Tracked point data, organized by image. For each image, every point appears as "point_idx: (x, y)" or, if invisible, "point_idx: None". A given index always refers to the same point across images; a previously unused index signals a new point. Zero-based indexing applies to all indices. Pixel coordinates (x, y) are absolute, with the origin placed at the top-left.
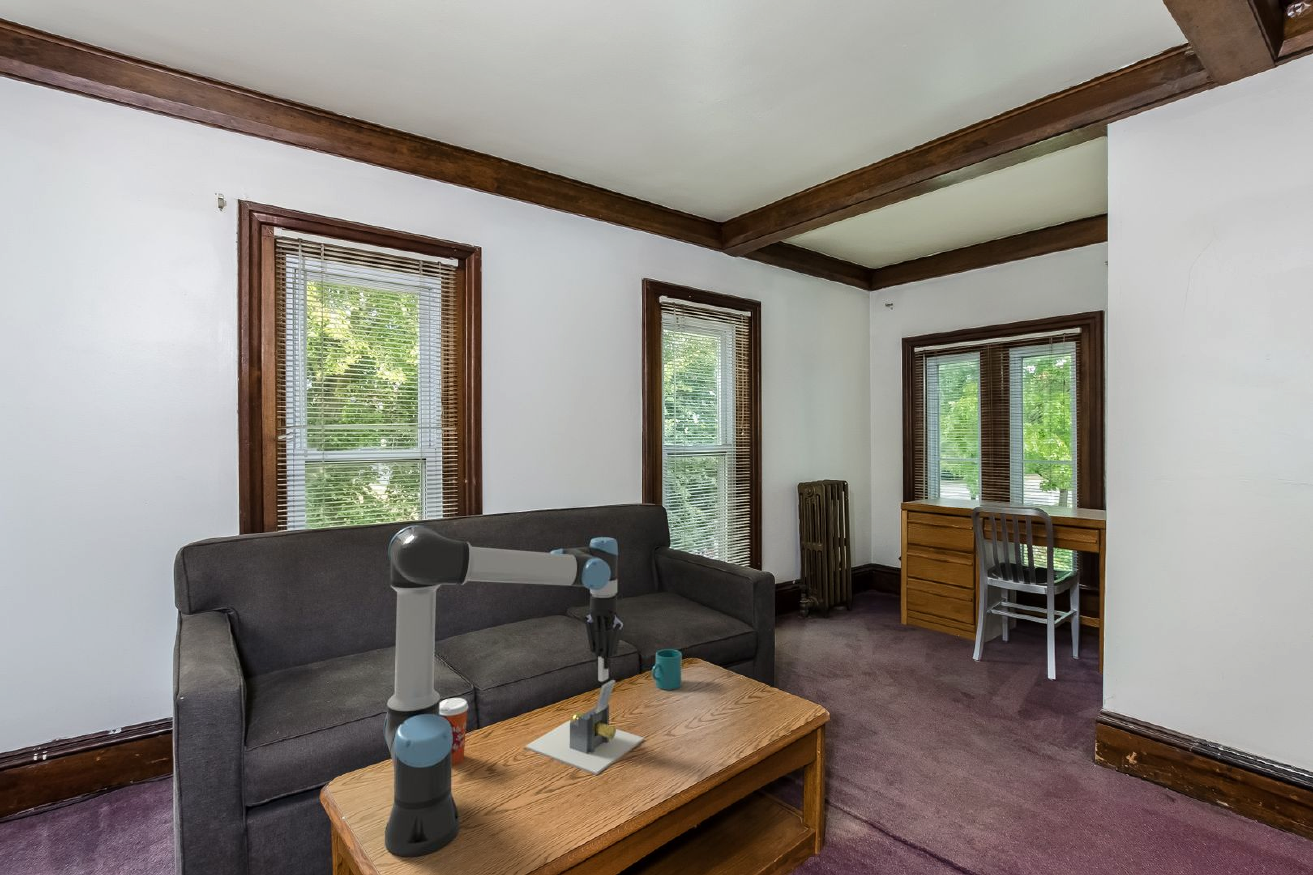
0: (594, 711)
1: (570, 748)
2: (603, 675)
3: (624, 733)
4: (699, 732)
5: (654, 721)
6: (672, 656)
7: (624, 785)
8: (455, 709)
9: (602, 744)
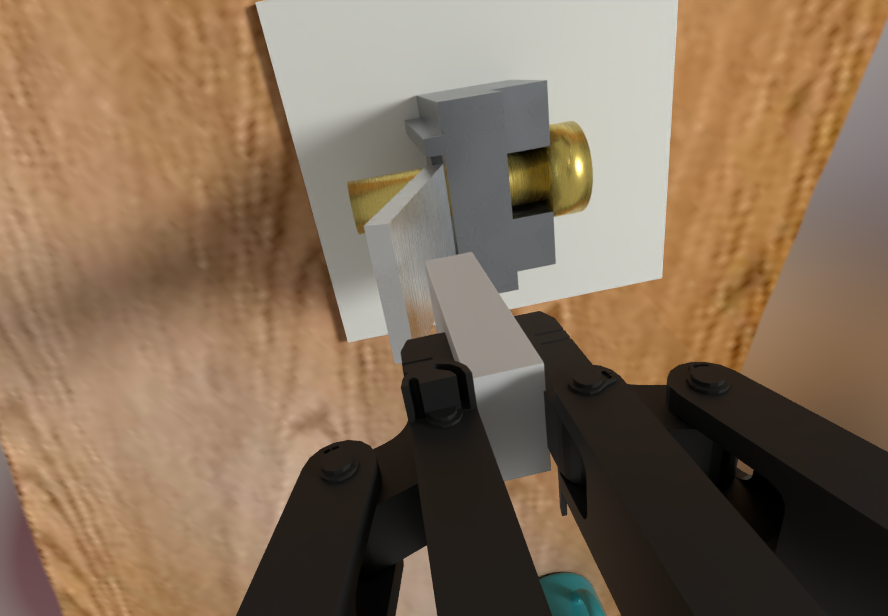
0: (436, 166)
1: (503, 79)
2: (432, 293)
3: None
4: (255, 491)
5: None
6: None
7: (98, 31)
8: None
9: None
